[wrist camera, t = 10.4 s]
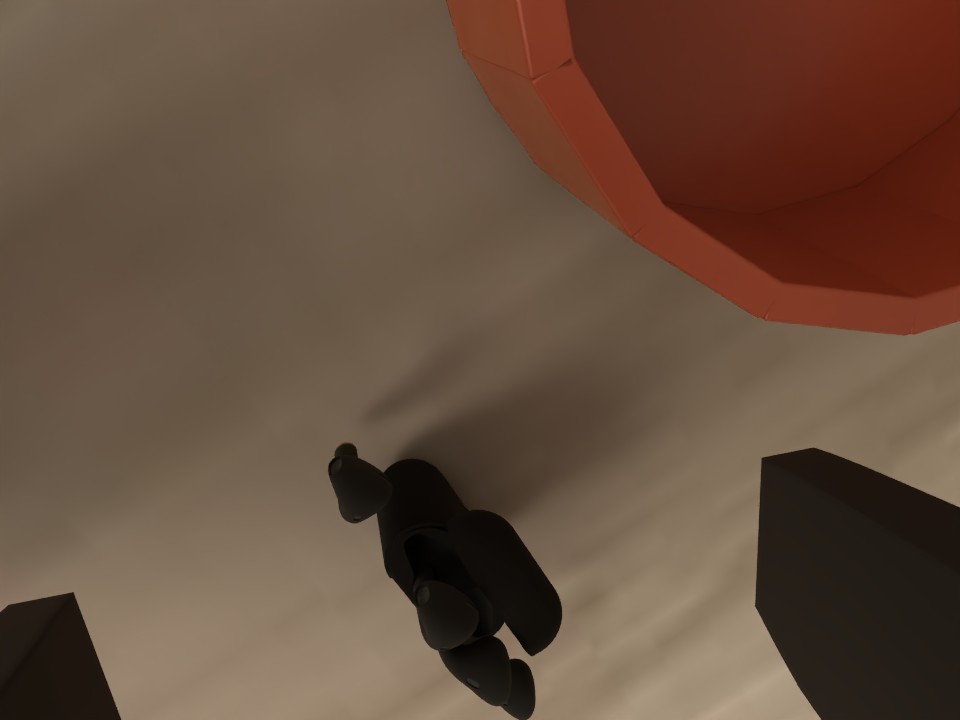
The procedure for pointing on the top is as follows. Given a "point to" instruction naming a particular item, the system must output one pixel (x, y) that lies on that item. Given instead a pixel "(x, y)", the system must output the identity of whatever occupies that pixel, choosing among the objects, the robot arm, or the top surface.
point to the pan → (750, 141)
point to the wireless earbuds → (455, 573)
